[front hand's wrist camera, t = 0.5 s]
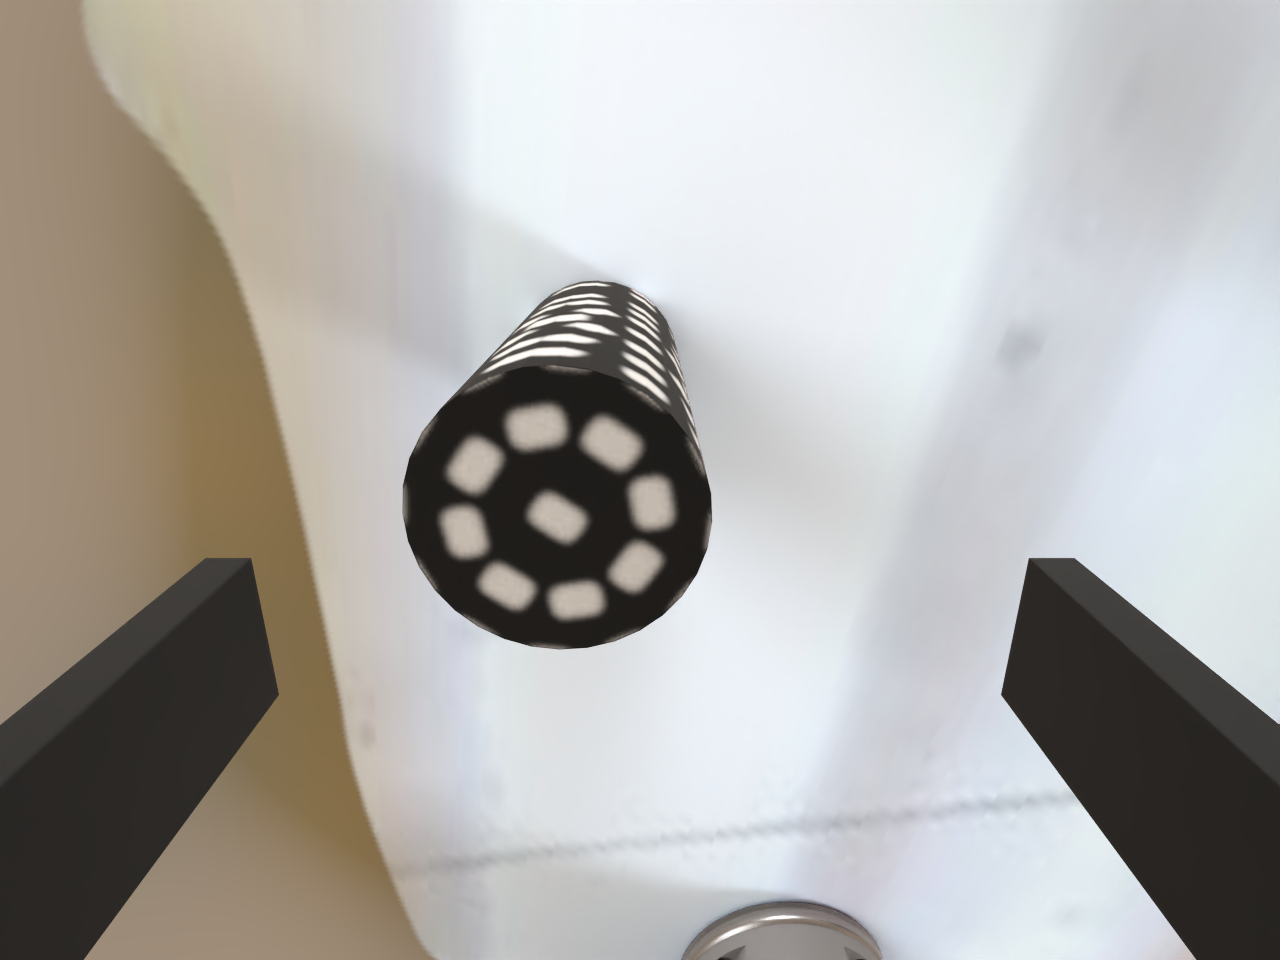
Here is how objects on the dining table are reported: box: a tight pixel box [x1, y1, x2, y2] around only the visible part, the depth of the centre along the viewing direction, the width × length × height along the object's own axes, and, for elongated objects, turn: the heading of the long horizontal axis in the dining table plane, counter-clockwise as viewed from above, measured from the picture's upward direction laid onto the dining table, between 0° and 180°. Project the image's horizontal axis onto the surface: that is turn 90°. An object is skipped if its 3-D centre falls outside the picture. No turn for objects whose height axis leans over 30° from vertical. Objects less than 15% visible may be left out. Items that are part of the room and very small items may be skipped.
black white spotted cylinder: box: [403, 281, 712, 649], centre depth 29 cm, size 8×8×20 cm
